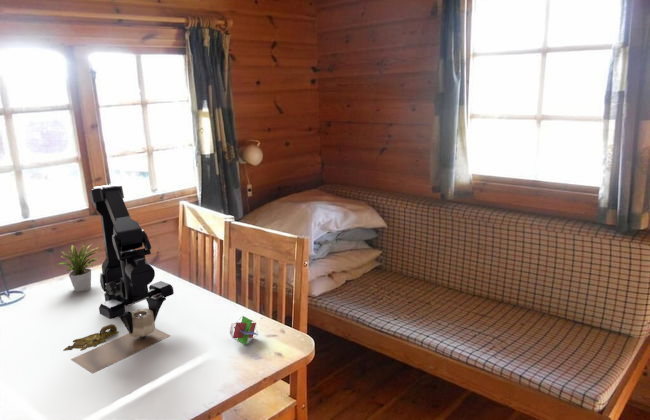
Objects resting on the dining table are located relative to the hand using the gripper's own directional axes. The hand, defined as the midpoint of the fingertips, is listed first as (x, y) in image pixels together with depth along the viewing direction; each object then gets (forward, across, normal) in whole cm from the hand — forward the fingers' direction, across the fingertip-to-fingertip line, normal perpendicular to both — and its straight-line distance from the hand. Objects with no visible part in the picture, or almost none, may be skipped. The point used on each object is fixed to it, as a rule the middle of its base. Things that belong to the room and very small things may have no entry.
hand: (141, 328), depth 134 cm
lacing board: (+4, +6, 0) cm, 7 cm away
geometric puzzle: (+4, -16, +23) cm, 28 cm away
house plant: (+4, -8, -50) cm, 51 cm away
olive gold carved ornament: (+5, +9, -10) cm, 15 cm away
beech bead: (+1, 0, 0) cm, 1 cm away
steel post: (+3, 0, 0) cm, 3 cm away
